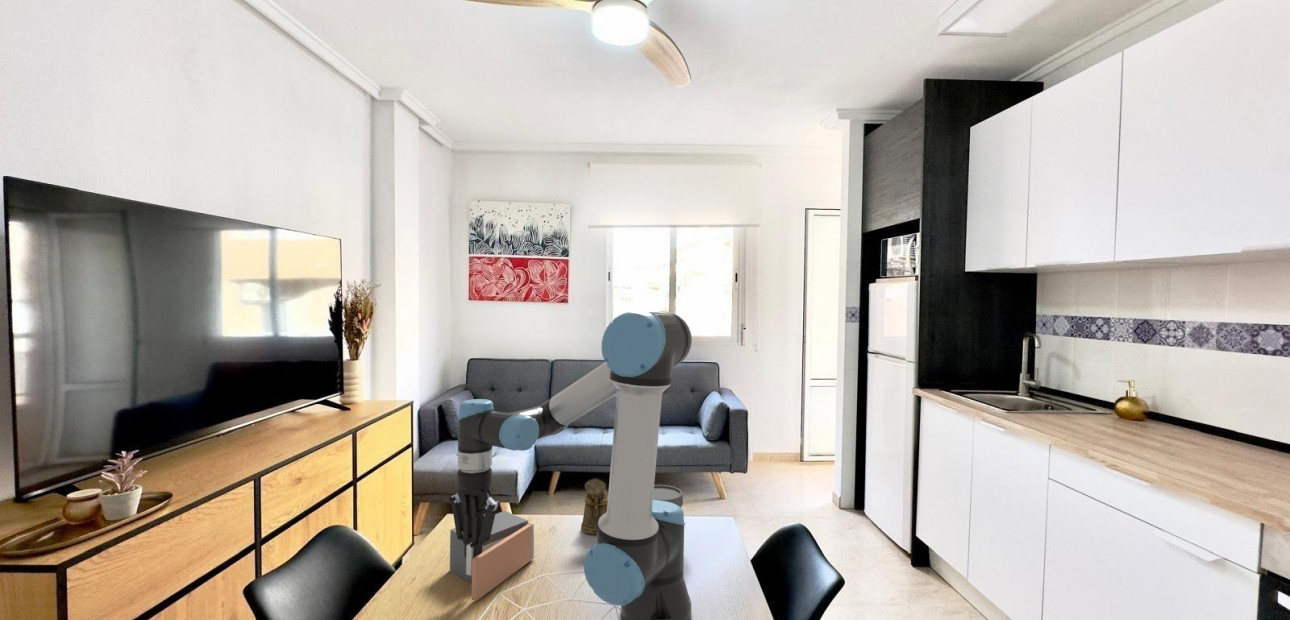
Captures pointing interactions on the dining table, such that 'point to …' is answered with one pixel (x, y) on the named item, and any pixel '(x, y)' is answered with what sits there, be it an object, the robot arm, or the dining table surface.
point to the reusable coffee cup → (668, 494)
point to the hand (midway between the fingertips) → (472, 572)
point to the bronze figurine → (594, 505)
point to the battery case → (500, 530)
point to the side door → (502, 560)
